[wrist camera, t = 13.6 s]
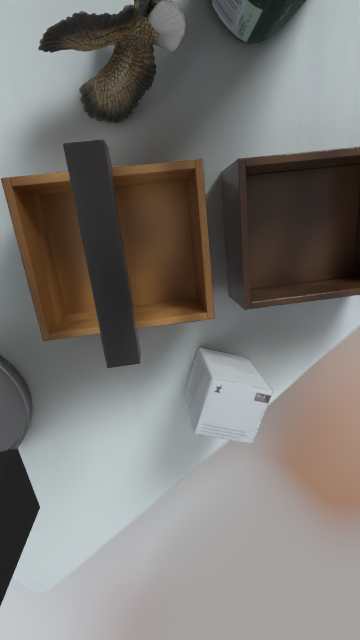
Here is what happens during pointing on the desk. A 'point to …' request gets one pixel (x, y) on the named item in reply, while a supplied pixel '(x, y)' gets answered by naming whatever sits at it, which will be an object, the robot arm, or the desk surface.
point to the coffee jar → (254, 16)
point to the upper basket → (113, 247)
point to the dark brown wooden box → (292, 227)
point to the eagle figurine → (119, 52)
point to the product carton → (226, 396)
